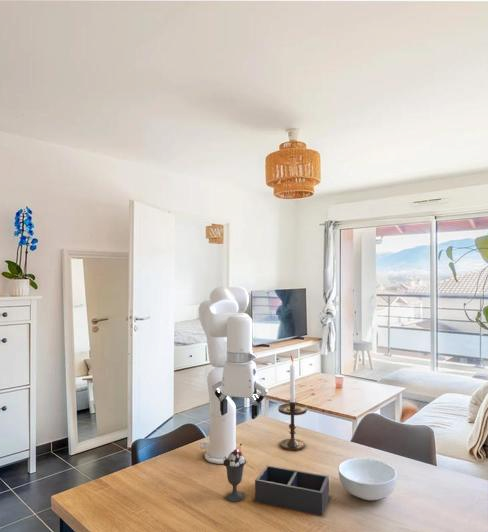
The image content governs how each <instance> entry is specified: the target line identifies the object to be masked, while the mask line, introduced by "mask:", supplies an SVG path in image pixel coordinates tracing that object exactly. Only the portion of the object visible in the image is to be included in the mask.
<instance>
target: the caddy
mask: <svg viewBox="0 0 488 532" xmlns="http://www.w3.org/2000/svg"><path fill="white" fill-rule="evenodd" d="M329 497H330V476H329V475H325V474H319V473H313V472H307V471H302V470H297V469H292V468H287V467H286V468H285V467H281V466H280V467H279V466H273V465H268V464H266V465H265V466H264V468H263V469H262V470H261V472H260V473H259V475H258V476H257V477H256V479H254V502H256V503H261V504H265V505H270V506H275V507H279V508H284V509H289V510H293V511H299V512H302V513H303V512H304V513H307V514H311V515H312V514H313V515H317V516H322V517H323V515H324V511H325V509H326V507H327V504H328V501H329Z"/></svg>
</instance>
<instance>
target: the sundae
mask: <svg viewBox="0 0 488 532" xmlns="http://www.w3.org/2000/svg"><path fill="white" fill-rule="evenodd" d="M242 445H243V443H239V445H238V447H236V449H235V450H234V451H233V452H231V453H230V454H229V456H228V458H226V457H225V460H224V464H222V465H223V466H224V467H225V469H226V477H227V482H228V483H229V484H230V485H231V486H232V491H231V492H229V493H228V494H227V495H225V496H226V500H227V501H229V502H233V503H234V502H235V503H236V502H240V501H242V500H243V499H244V494H243V493H241V492H238V486H239V484H240V483H242V481H243V475H244V467H245V465H246V464H247V460H245V458H244V457H245V456H244V455H242V454H243V453H242V451H241V450H239V449H240V447H242ZM237 449H238V450H239V452H237Z"/></svg>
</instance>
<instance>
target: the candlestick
mask: <svg viewBox="0 0 488 532" xmlns="http://www.w3.org/2000/svg"><path fill="white" fill-rule="evenodd" d="M290 361H291V365H289V399H288V400H287V402H288V403H283V404H280V405H279V406H278V407H277V408H278V412H279V413H280V414H282V415H286V416H290V423H289V425H288V428H289V429H290V431H288V432H289V434H290V438H287V439H283V440H281V442H280V448H282V449H283V450H285V451H288V452H289V451H290V452H299V451H302V450H304V448H305V442H304V441H303V440H301V439H297V438H295V435H296V433H297V432H296V431H295V430H296V428H297V425H296V424H295V416H302V415H305V414H306V413H308V412H307V411H308V408H307V406H305V405H303V404H299V403H298V400H297V399H296V365H295V364H294V357H293V355H292V354H290Z"/></svg>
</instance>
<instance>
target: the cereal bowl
mask: <svg viewBox="0 0 488 532" xmlns="http://www.w3.org/2000/svg"><path fill="white" fill-rule="evenodd" d="M397 476H398V475H397V471H396V469H395V468H394V467H393V466H391V464H389V463H387V462H384V461H382V460H379V459H375V458H370V457H369V458H368V457H352V458H348V459H345V460H344V461H342V462H341V463H340V464H339V466H338V478H339V482H340V484H341V486H342V487H343V488H344V490H345V491H346V492H348V493H349V494H351V496H352V495H353V497H354V496H355V497H357V498H359V499H361V500H364V501H378V500H380V499H384V498H387V497H388V496H390V495H391V494H392V493H393V492H394V491H395V489H396V487H397V483H398V482H397V481H398V477H397Z"/></svg>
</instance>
